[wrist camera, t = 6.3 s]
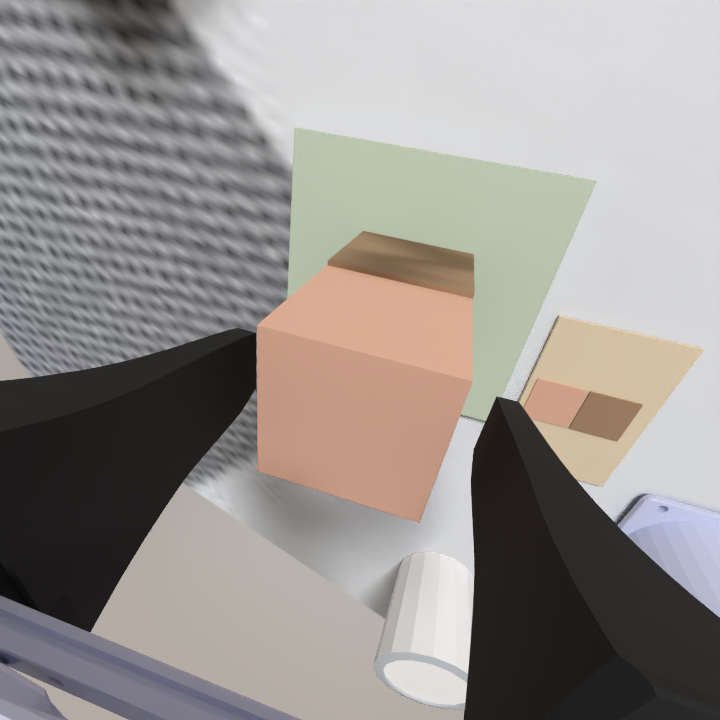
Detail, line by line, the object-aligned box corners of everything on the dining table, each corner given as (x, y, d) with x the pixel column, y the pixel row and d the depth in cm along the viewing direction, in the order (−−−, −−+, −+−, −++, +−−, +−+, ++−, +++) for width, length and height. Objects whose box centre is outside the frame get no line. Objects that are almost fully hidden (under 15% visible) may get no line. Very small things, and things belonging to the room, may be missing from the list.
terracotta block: (472, 298, 12) (472, 381, 8) (434, 414, 15) (419, 522, 11) (326, 264, 13) (257, 325, 9) (315, 381, 16) (257, 470, 11)
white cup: (380, 546, 29) (357, 648, 23) (470, 546, 26) (469, 661, 21) (407, 599, 32) (392, 702, 26) (491, 604, 29) (495, 720, 23)
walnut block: (473, 254, 16) (474, 293, 12) (443, 351, 19) (436, 411, 15) (363, 230, 17) (327, 260, 13) (349, 328, 20) (316, 378, 15)
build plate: (593, 180, 14) (596, 181, 14) (490, 416, 21) (490, 422, 20) (299, 127, 16) (294, 127, 16) (288, 362, 22) (284, 366, 22)
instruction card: (701, 347, 16) (704, 351, 16) (601, 484, 21) (602, 488, 21) (558, 315, 17) (560, 318, 17) (493, 453, 22) (493, 457, 22)
